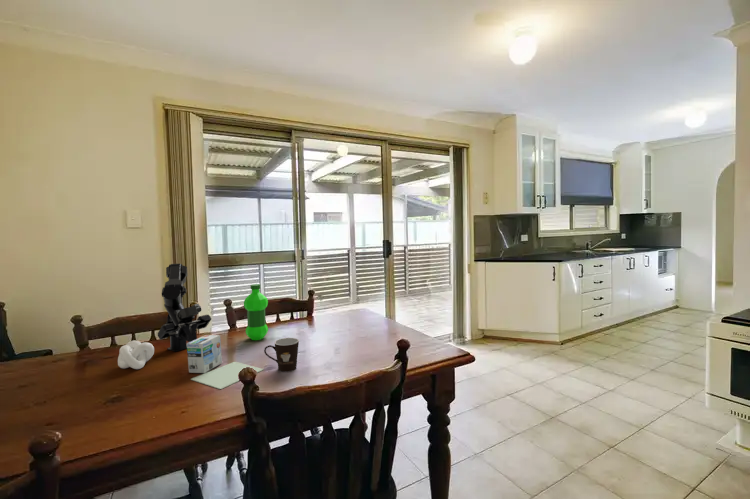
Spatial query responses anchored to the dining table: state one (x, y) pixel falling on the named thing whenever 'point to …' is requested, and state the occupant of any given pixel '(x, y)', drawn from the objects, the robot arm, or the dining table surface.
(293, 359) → the coffee mug
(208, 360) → the light bulb box
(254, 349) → the dining table surface
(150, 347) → the white decorative knot
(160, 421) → the dining table surface
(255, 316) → the plastic bottle
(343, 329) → the dining table surface
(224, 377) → the mat
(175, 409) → the dining table surface
